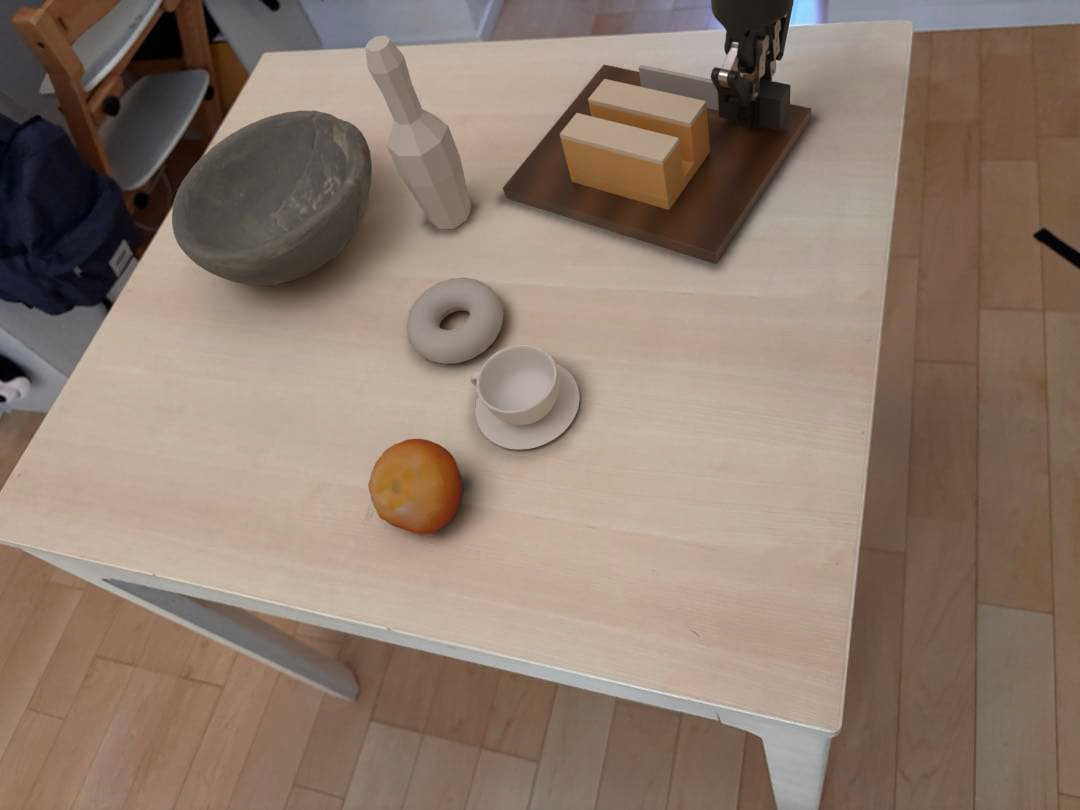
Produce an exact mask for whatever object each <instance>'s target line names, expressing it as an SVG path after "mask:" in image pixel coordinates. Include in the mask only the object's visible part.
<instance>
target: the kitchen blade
mask: <svg viewBox="0 0 1080 810" xmlns="http://www.w3.org/2000/svg"><path fill="white" fill-rule="evenodd" d="M638 72H639V74H640V81H641V87H644V88H648V89H653V90H657V91H662V92H666V93H671V94H676V95H680V96H685V97H689V98H694V99H698V100H703V101H706V106H707V108H709V109H714V110H718V111H719V117H720V118H725V119H729V120H734V121H737V106H736V105H733V104H729V103H724V102H723V100H722V98H721V96H720V94H719V93H718V91H717V89H716V87H715V86H714V84H713V82H712V80H711V78H707V77H702V76H697V75H692V74H687V73H682V72H678V71H673V70H668V69H663V68H659V67H655V66H654V67H653V66H649V65H643V64H640V65H639V66H638ZM743 81H744V83H745V85H746V86H747V87H750V82H749V81H748V80H743ZM790 104H791V84H787V83H782V82H778V81H773V80H772V81H768V80H763V79H760V83H759V123H758V125H757V126H760V127H764V128H769V129H773V130H778V131H780V130H781V129H782V127H783V126H784V125H785V123H786V122H787V120H788V119H789V117H790Z"/></svg>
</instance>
